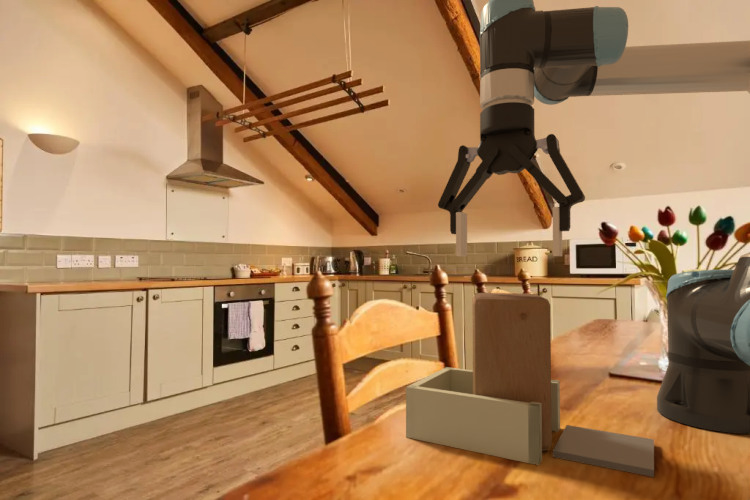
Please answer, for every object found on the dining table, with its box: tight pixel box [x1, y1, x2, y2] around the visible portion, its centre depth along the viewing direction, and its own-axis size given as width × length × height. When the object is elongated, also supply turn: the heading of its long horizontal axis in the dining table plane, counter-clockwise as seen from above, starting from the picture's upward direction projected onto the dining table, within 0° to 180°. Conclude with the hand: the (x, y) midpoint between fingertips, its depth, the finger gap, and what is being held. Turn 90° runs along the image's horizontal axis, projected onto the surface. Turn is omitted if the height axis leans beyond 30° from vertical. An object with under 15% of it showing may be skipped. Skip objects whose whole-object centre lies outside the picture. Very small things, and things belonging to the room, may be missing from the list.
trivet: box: [552, 424, 655, 478], centre depth 61 cm, size 11×11×1 cm
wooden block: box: [472, 292, 553, 452], centre depth 66 cm, size 10×10×20 cm
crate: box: [405, 366, 561, 466], centre depth 68 cm, size 18×15×7 cm
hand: (507, 256), depth 67 cm, fingers open, 13 cm apart
